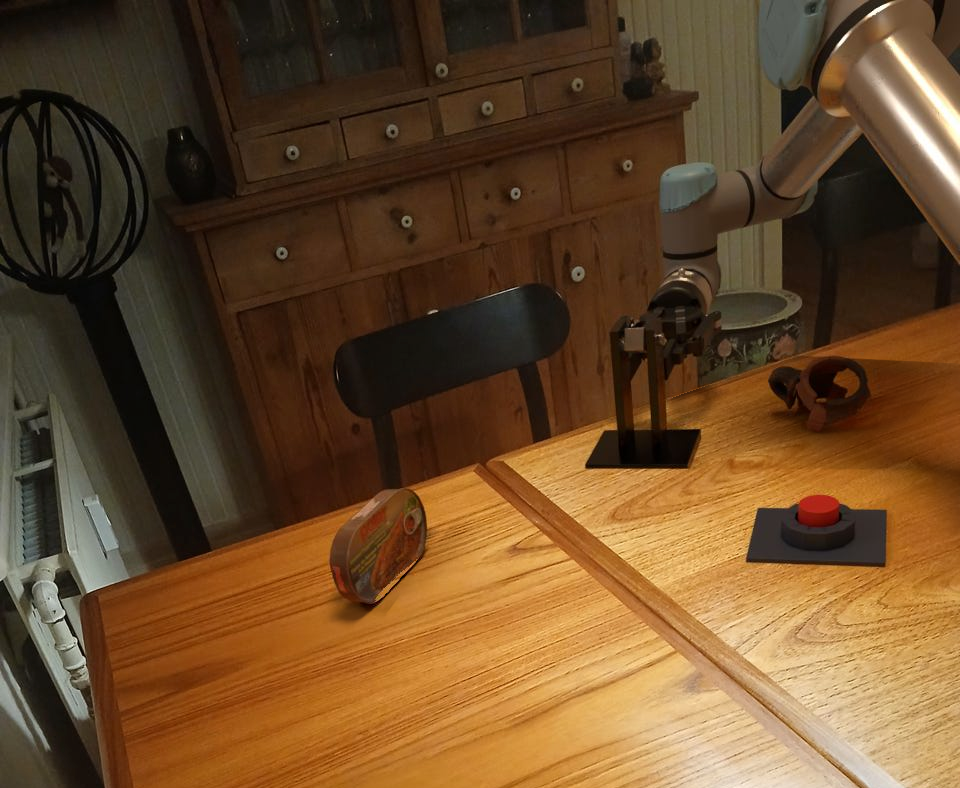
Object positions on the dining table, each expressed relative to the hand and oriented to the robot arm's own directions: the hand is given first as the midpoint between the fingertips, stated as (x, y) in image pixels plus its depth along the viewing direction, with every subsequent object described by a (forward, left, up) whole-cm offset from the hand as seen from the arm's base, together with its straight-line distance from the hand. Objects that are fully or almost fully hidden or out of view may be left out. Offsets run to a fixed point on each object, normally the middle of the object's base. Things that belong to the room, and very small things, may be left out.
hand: (645, 369), depth 115 cm
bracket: (0, +3, -9) cm, 10 cm away
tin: (+21, +33, -10) cm, 41 cm away
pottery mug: (-19, -8, -10) cm, 23 cm away
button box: (-21, +25, -9) cm, 34 cm away
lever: (0, -1, +1) cm, 1 cm away
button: (-21, +25, -6) cm, 33 cm away
